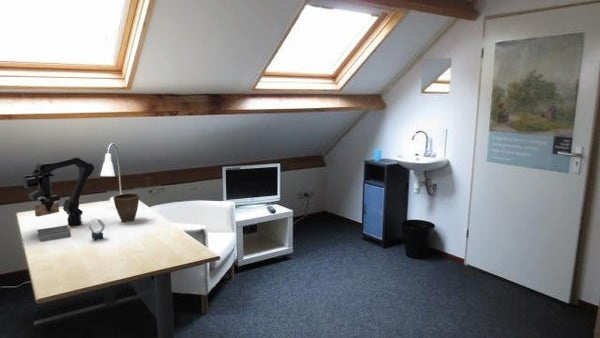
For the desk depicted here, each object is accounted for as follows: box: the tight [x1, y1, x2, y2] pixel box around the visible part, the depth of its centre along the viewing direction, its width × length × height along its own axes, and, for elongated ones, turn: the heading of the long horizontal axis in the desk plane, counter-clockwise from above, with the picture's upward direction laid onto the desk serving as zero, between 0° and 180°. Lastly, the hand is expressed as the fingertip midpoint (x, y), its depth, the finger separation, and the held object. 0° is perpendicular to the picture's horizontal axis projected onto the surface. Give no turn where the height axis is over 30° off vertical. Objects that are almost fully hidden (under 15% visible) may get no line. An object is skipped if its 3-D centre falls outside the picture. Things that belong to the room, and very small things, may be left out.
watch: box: [87, 218, 106, 241], centre depth 222 cm, size 6×8×11 cm
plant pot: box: [113, 193, 140, 223], centre depth 256 cm, size 15×15×16 cm
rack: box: [37, 224, 72, 242], centre depth 228 cm, size 15×15×4 cm
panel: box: [33, 201, 60, 218], centre depth 235 cm, size 12×2×6 cm, turn 150°
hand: (47, 211), depth 235 cm, fingers closed on panel, 2 cm apart
